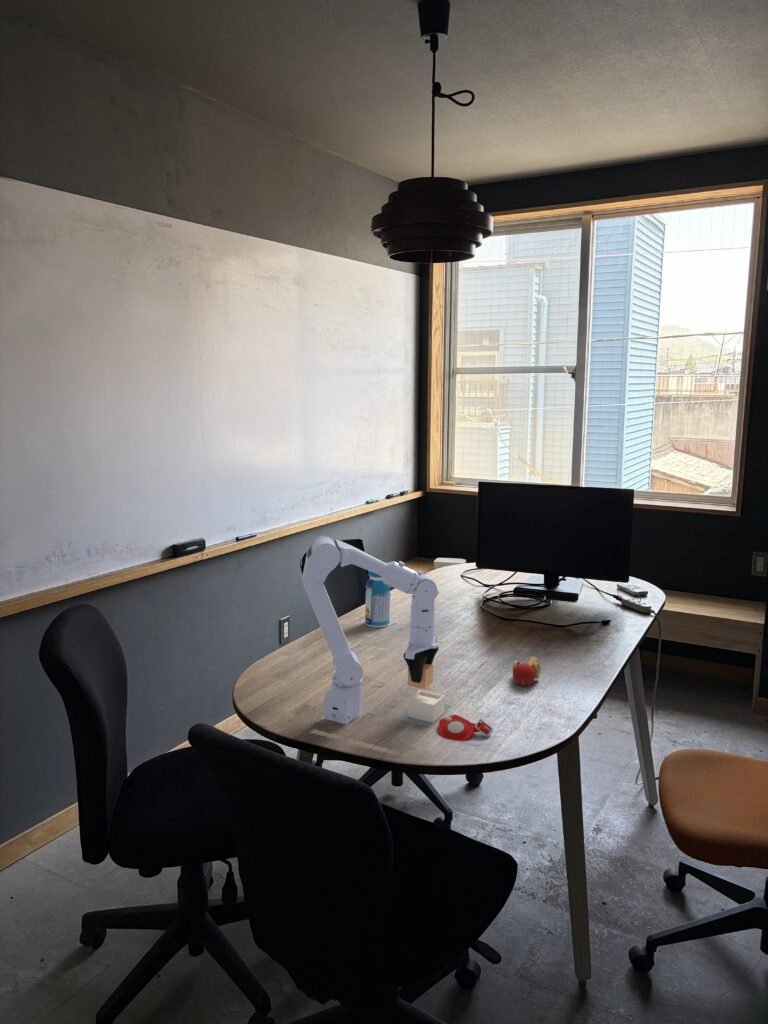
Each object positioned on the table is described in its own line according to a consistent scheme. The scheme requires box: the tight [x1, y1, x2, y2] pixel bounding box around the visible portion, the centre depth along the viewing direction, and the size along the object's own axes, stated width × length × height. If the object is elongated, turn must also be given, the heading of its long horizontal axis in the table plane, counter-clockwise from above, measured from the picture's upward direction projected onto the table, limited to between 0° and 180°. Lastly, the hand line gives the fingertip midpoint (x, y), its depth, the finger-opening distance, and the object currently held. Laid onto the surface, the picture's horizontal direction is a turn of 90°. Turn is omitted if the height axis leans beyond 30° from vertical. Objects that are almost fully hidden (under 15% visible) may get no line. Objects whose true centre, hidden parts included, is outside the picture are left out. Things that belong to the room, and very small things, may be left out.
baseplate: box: [394, 703, 452, 728], centre depth 185 cm, size 14×9×1 cm, turn 153°
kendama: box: [512, 656, 541, 687], centre depth 211 cm, size 8×6×18 cm
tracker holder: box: [437, 714, 494, 742], centre depth 175 cm, size 12×4×10 cm
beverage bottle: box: [364, 570, 391, 629], centre depth 253 cm, size 8×8×20 cm
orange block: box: [407, 664, 434, 690], centre depth 184 cm, size 5×5×4 cm
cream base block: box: [407, 689, 446, 722], centre depth 183 cm, size 7×7×4 cm
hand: (420, 678), depth 185 cm, fingers closed on orange block, 5 cm apart
